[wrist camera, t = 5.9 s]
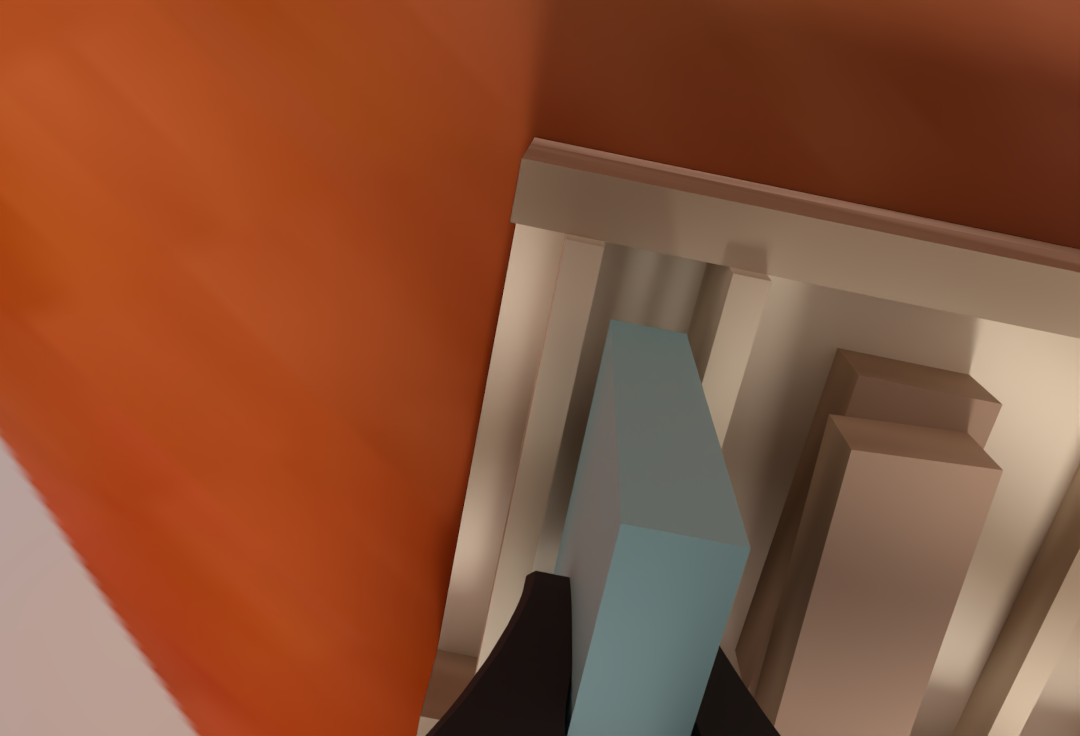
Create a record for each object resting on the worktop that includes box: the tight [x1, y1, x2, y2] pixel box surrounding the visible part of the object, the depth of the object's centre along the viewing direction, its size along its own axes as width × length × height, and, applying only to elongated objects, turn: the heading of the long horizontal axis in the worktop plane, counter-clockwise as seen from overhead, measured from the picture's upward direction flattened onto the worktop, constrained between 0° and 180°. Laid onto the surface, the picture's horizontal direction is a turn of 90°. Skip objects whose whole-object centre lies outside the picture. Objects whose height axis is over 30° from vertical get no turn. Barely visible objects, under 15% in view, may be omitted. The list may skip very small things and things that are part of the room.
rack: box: [417, 137, 1080, 736], centre depth 17 cm, size 12×16×3 cm
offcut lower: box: [735, 348, 1003, 697], centre depth 17 cm, size 7×2×1 cm, turn 169°
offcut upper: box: [754, 414, 1003, 736], centre depth 15 cm, size 6×2×1 cm, turn 173°
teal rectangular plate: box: [553, 319, 751, 736], centre depth 12 cm, size 8×1×6 cm, turn 170°
